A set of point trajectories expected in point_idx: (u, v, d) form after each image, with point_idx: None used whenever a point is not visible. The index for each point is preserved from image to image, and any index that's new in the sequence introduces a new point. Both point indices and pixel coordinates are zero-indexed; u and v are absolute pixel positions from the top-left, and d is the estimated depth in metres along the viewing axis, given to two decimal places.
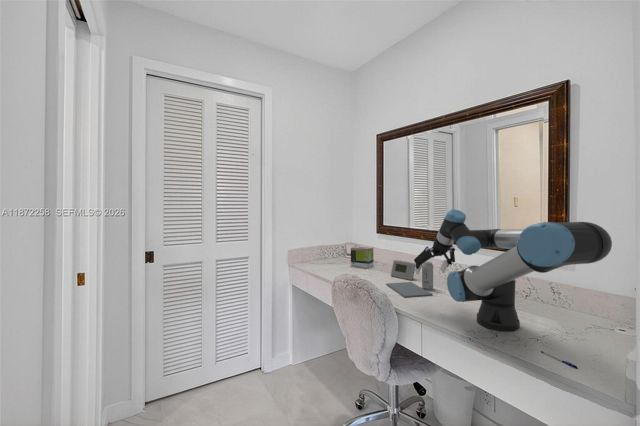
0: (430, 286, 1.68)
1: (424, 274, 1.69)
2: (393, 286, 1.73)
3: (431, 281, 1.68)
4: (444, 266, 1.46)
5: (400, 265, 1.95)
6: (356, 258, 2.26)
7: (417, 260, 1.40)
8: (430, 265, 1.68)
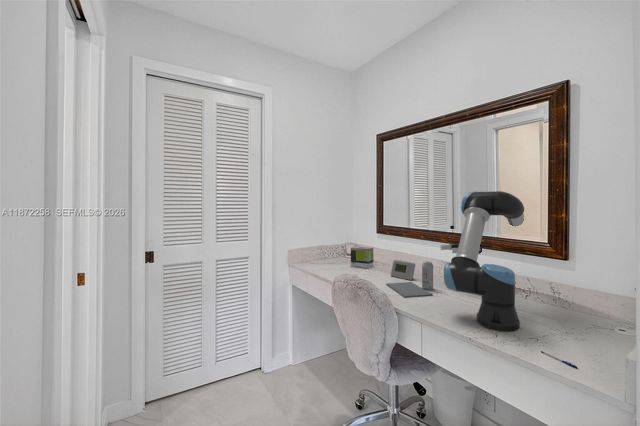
0: (430, 286, 1.68)
1: (424, 274, 1.69)
2: (393, 286, 1.73)
3: (431, 281, 1.68)
4: None
5: (400, 265, 1.95)
6: (356, 258, 2.26)
7: None
8: (430, 265, 1.68)
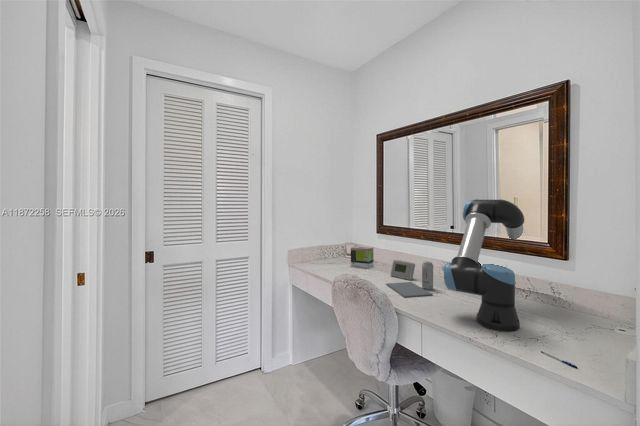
0: (430, 286, 1.68)
1: (424, 274, 1.69)
2: (393, 286, 1.73)
3: (431, 281, 1.68)
4: None
5: (400, 265, 1.95)
6: (356, 258, 2.26)
7: None
8: (430, 265, 1.68)
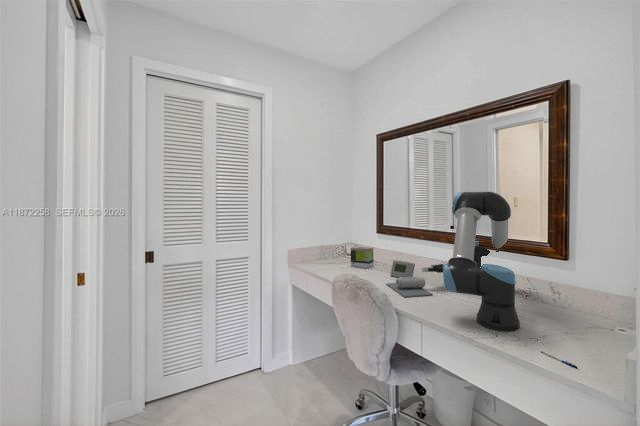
0: (422, 284, 1.67)
1: None
2: (393, 286, 1.73)
3: (417, 283, 1.67)
4: None
5: (400, 265, 1.95)
6: (356, 258, 2.26)
7: None
8: (401, 284, 1.66)
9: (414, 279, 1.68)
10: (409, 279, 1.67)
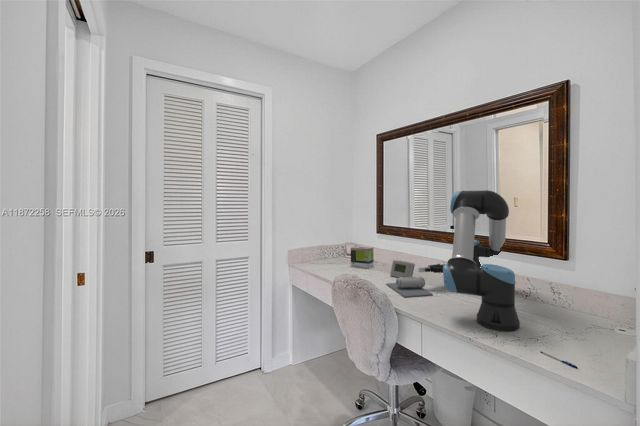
0: (422, 283, 1.67)
1: None
2: (393, 286, 1.73)
3: (417, 282, 1.67)
4: None
5: (400, 265, 1.95)
6: (356, 258, 2.26)
7: None
8: (401, 284, 1.67)
9: (414, 279, 1.68)
10: (409, 279, 1.68)
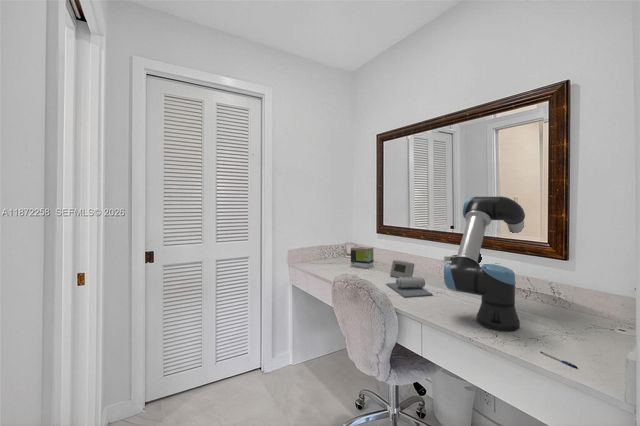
0: (422, 283, 1.67)
1: None
2: (393, 286, 1.73)
3: (417, 282, 1.67)
4: None
5: (399, 265, 1.95)
6: (356, 258, 2.26)
7: None
8: (401, 284, 1.67)
9: (414, 279, 1.68)
10: (409, 279, 1.68)
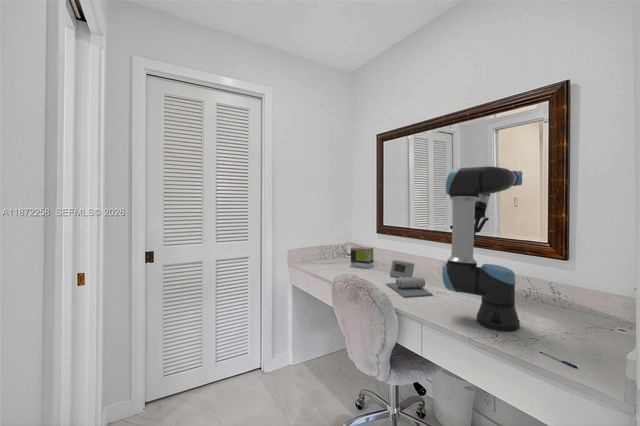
0: (422, 283, 1.67)
1: None
2: (393, 286, 1.73)
3: (417, 282, 1.67)
4: None
5: (399, 265, 1.95)
6: (356, 258, 2.26)
7: None
8: (401, 284, 1.67)
9: (414, 279, 1.68)
10: (409, 279, 1.68)
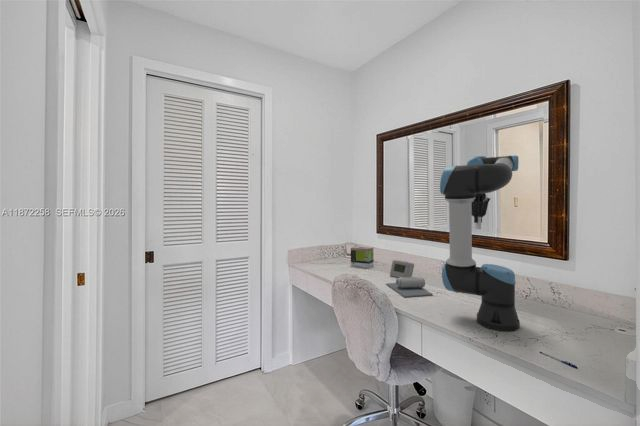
0: (422, 283, 1.67)
1: None
2: (393, 286, 1.73)
3: (417, 282, 1.67)
4: None
5: (399, 265, 1.95)
6: (356, 258, 2.26)
7: (472, 212, 1.62)
8: (401, 284, 1.67)
9: (414, 279, 1.68)
10: (409, 279, 1.68)
